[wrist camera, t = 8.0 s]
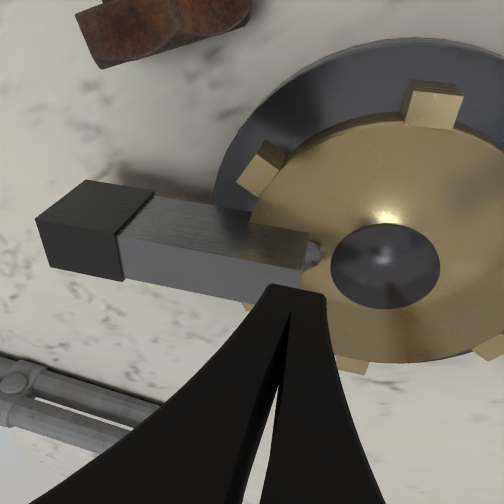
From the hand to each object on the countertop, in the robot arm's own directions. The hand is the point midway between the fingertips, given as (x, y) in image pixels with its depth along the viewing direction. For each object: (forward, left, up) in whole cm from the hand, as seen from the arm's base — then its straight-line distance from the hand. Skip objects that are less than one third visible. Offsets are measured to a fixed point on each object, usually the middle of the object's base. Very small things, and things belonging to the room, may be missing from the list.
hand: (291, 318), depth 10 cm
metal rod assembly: (+13, +24, -10) cm, 29 cm away
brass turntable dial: (0, +2, -8) cm, 8 cm away
